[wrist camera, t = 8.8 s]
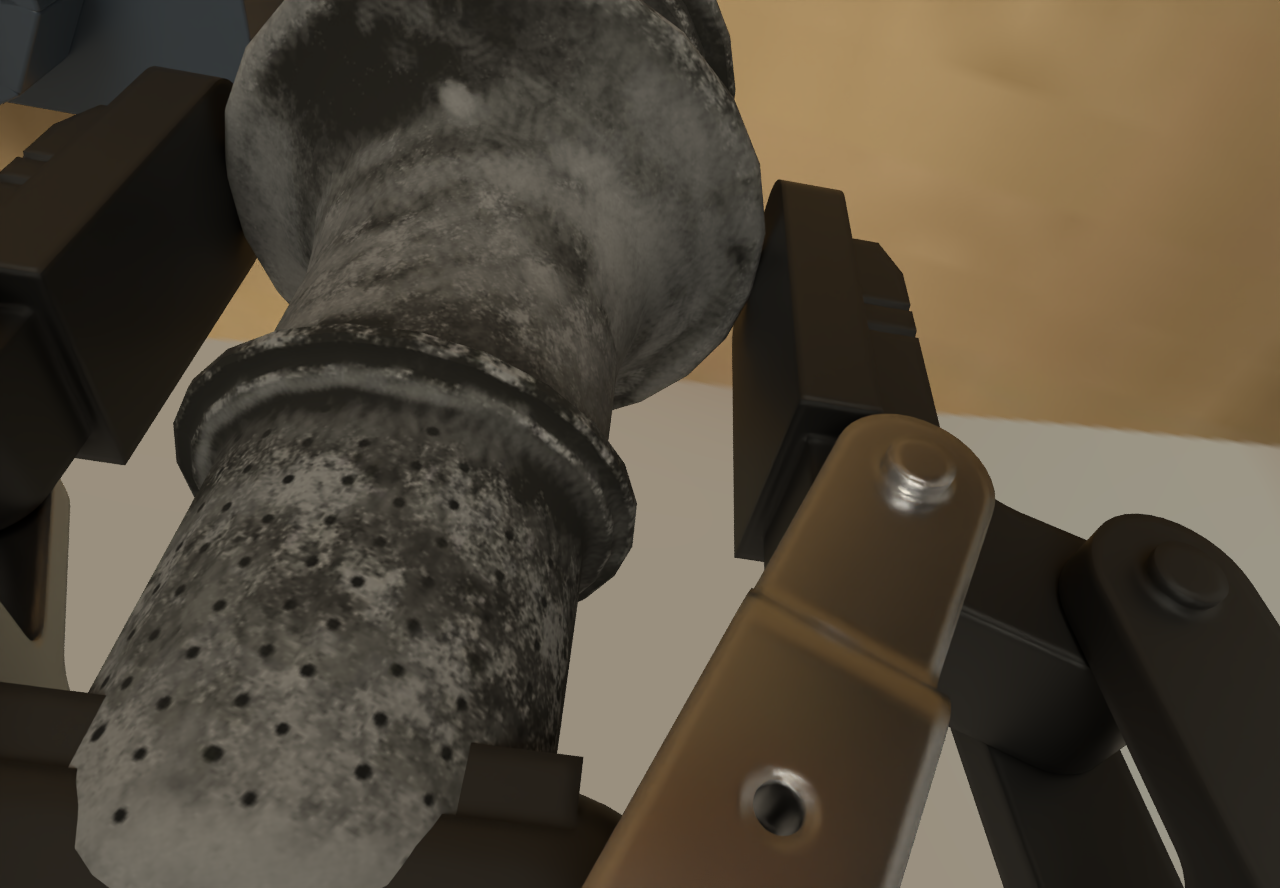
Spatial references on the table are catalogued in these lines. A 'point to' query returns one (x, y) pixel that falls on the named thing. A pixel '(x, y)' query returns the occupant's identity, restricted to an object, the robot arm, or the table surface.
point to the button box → (116, 45)
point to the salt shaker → (415, 421)
